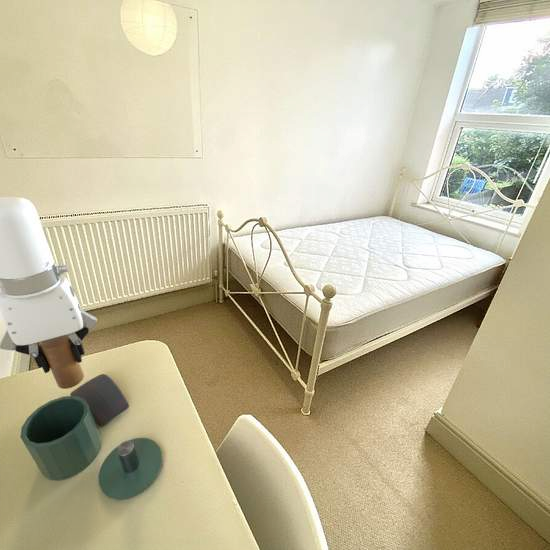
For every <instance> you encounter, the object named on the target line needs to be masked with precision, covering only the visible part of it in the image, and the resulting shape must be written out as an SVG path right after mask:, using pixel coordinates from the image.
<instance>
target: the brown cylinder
mask: <svg viewBox="0 0 550 550" xmlns="http://www.w3.org/2000/svg"><path fill="white" fill-rule="evenodd" d="M39 345H40V346H41V348H42V351H43V353H44V355H45V357H46V360H47V362H48V364H49V367H50V372H51V373H52V375H53V378H54V380H55V383H56V385H57V387H58V388H60V389H63V390H64V389H65V390H67V389H72V388H74V387H76V386H78V385H79V384H80V383H81V382H82V381H83V379H84V377H85V374H84V371H83V368H82V366H81V362H80V363H78V362H77V361H76V358H75V355H74V353H73V350H72V341H71V340H70V338H69V337H68V336H67V335H63V336H59V337H55V338H52V339H48V340H44V341H40V343H39Z"/></svg>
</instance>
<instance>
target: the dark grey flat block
mask: <svg viewBox="0 0 550 550" xmlns="http://www.w3.org/2000/svg"><path fill="white" fill-rule="evenodd" d="M69 396H77V397H80V398H83V399H84V400H85V401H86V403H87V404H88V406H89V409H90V411H91V414H92V416H93V419H94V421H95V423H97V424H98V425H99V426H101V427H104V426H105V425H107V424H108V423H109V422H111V421H112V420H113V419H115V418H116V417H117V416H119V415H120V414H121V413H123V412H124V411H125V410H127V409H128V408H130V404H129V402H128V400H127V399H126V397H125V395H124V393H123V392H122V390H121V389H120V387H119V386H118V385H117V384H116V382H115V381H114V380H113V379H112V378H111V377H110V376H108V374H106V373H101V374H98V375H97V376H95V377H93V378H91V379H90V380H88V381H86V382H84V383H83V384H81V385H80V386H78V387H77V388H75V389H74V390H72V391H71V392H70V395H69Z"/></svg>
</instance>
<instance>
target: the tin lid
mask: <svg viewBox="0 0 550 550" xmlns="http://www.w3.org/2000/svg"><path fill="white" fill-rule="evenodd" d="M162 465H163V452H162V449H161V447H160V445H159V444H158V443H157V442H155V441H154V440H153V439H150V438H148V437H136V438H131V439H128V440H125V441H123V442H121V443H120V444H119V445H118V446H116V447H115V448H113V449H112V451H110V453H109V454H108V455H107V456H106V458H105V459H104V460H103V462H102V464H101V466H100V469H99V471H98V486H99V488H100V490H101V492H102V493H103V494H104V495H105V496H106V497H107V498H110V499H113V500H116V501H120V500H127V499H131V498H134V497H136V496H138V495H139V494H141V493H143V492H144V491H146V490H147V489H148V488H149V487H150V486H151V485H152V484H153V483H154V481H155V480H156V479H157V477H158V476H159V474H160V472H161V469H162Z"/></svg>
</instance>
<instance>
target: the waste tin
mask: <svg viewBox="0 0 550 550" xmlns="http://www.w3.org/2000/svg"><path fill="white" fill-rule="evenodd" d="M20 440H21V441H22V443H23V444H24V446H25V448H26V450H27V451H28V452H29V454H30V456H31V457H32V459H33V461H34V462H35V464H36V466H37V467H38V469H39V471H40V473H41V474H42V476H43V477H44V478H46V479H47V480H50V481H64V480H67V479H70V478H72V477H75V476H76V475H78V474H80V473H82V472H83V471H84V470H86V469H87V468H88V467H89V466H90V465H91V464H92V463H93V462H94V460H95V459H96V458H97V456H98V455H99V452H100V450H101V447H102V440H101V434H100V431H99V429H98V427H97V424H96V421H95V420H94V419H93V416H92V414H91V411H90V409H89V406H88V404H87V403H86V401H85V400H84V399H83V398H80V397H77V396H71V395H65V396H61V397H57V398H55V399H52V400H50V401H47V402H46V403H44V404H43V405H40V406H39V407H37V408H36V409H35V410H34V411H33V412H32V413H31V414H30V415H29V416H28V417H27V418H26V419H25V422H24V423H23V425H22V426H21V430H20Z"/></svg>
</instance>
